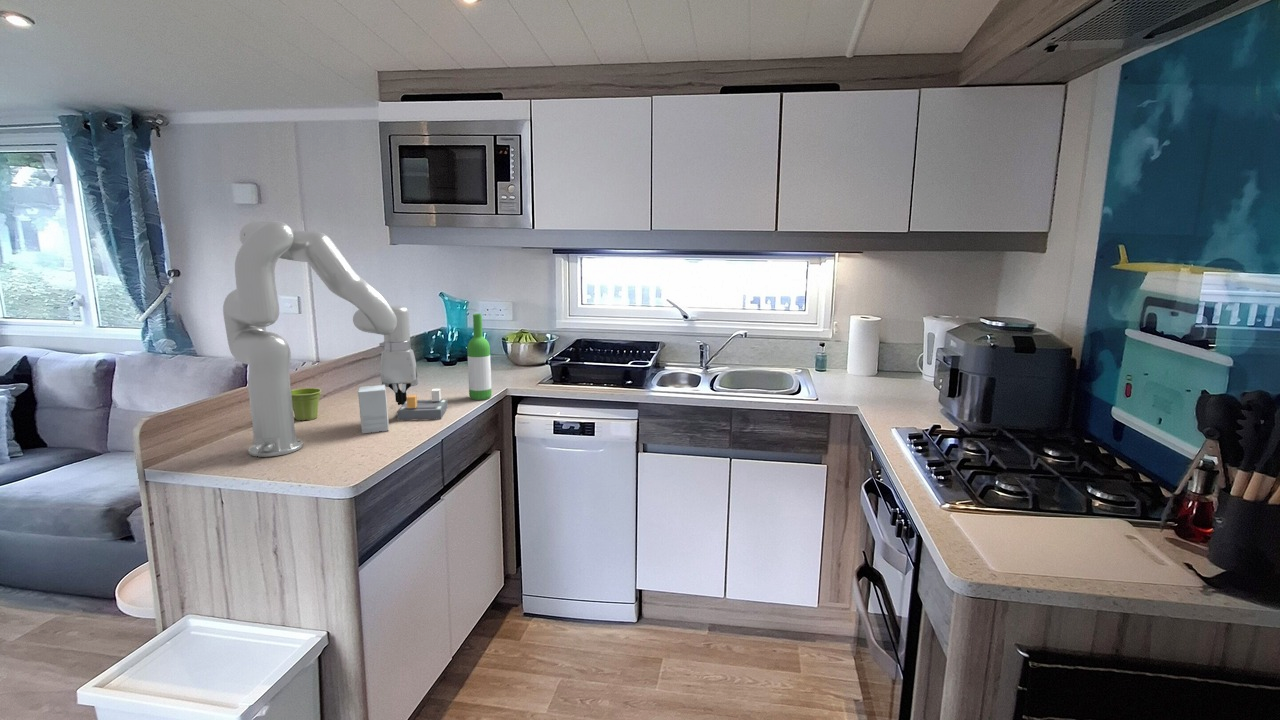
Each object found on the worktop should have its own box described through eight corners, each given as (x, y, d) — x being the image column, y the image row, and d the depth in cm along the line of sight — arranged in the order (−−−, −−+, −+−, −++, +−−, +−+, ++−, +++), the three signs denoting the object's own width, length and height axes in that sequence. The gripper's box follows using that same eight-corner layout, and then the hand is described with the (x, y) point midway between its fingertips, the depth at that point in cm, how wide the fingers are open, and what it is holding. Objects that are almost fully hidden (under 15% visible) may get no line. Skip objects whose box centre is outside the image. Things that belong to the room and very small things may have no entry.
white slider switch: (439, 401, 203) (438, 390, 202) (431, 401, 202) (431, 390, 202) (441, 398, 205) (440, 388, 205) (433, 399, 205) (432, 388, 204)
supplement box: (388, 424, 189) (386, 384, 186) (388, 431, 182) (385, 389, 180) (362, 426, 186) (359, 385, 184) (361, 434, 179) (357, 391, 177)
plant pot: (307, 412, 200) (304, 386, 198) (330, 415, 197) (328, 389, 195) (282, 420, 191) (279, 393, 190) (306, 423, 188) (303, 396, 187)
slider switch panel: (441, 419, 195) (440, 409, 194) (397, 420, 193) (397, 410, 192) (447, 408, 207) (447, 399, 207) (407, 409, 206) (406, 400, 205)
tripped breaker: (415, 408, 194) (414, 397, 193) (407, 408, 194) (406, 397, 193) (417, 405, 197) (416, 394, 196) (409, 405, 197) (408, 395, 196)
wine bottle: (469, 401, 216) (466, 315, 210) (468, 396, 223) (465, 313, 218) (492, 399, 219) (489, 315, 213) (490, 394, 226) (487, 312, 220)
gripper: (368, 348, 186) (373, 407, 190) (420, 348, 189) (424, 406, 192) (375, 344, 194) (379, 401, 197) (425, 343, 196) (428, 400, 199)
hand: (401, 403), depth 195 cm, fingers closed
